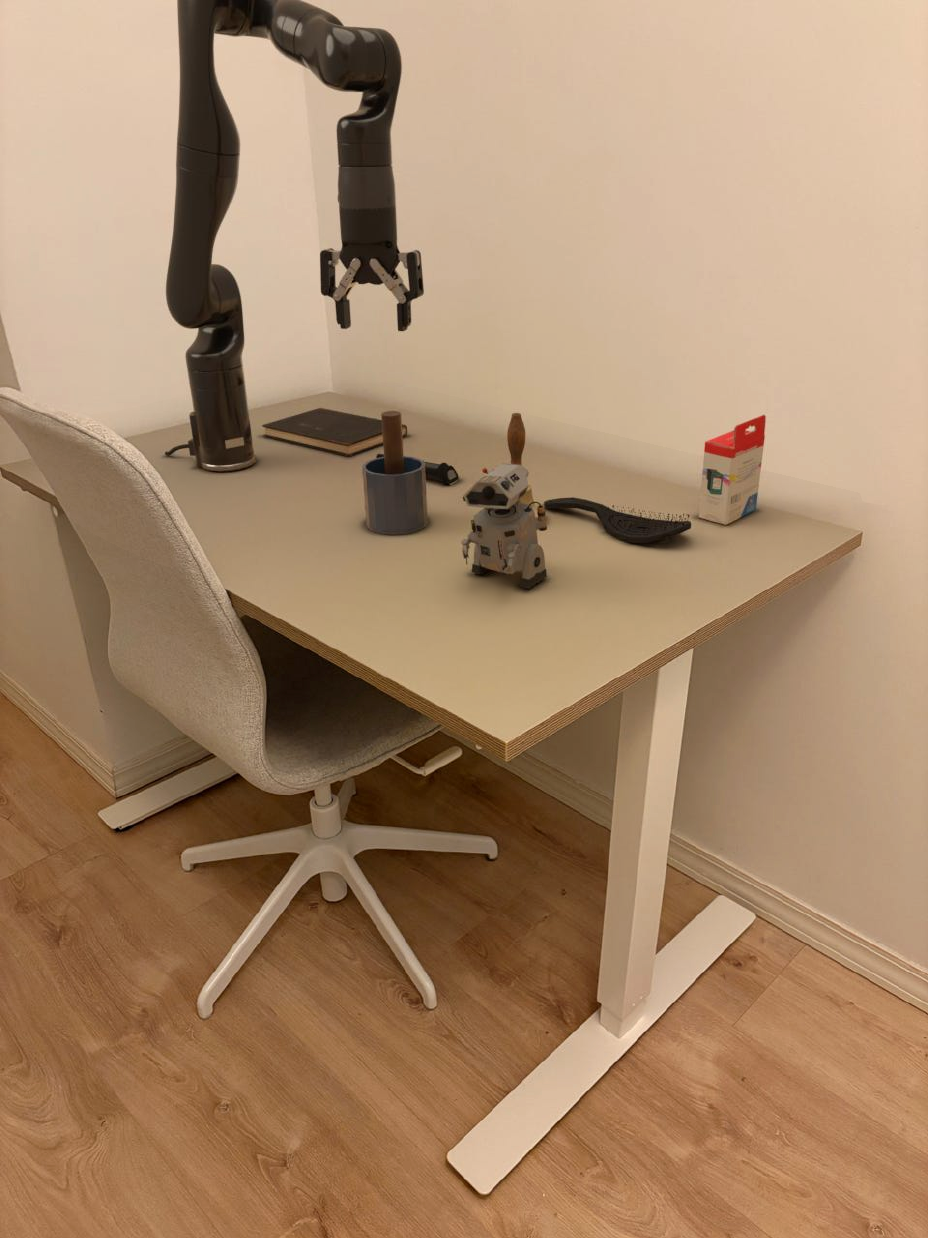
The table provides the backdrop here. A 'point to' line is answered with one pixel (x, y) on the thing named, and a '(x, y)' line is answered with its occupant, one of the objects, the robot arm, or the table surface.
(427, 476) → the electric trimmer
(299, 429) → the hardcover book
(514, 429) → the hand bell
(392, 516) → the cup
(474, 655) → the table surface
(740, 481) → the ink box
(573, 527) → the table surface
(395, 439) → the stick
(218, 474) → the table surface
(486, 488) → the figurine
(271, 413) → the table surface
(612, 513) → the hairbrush
